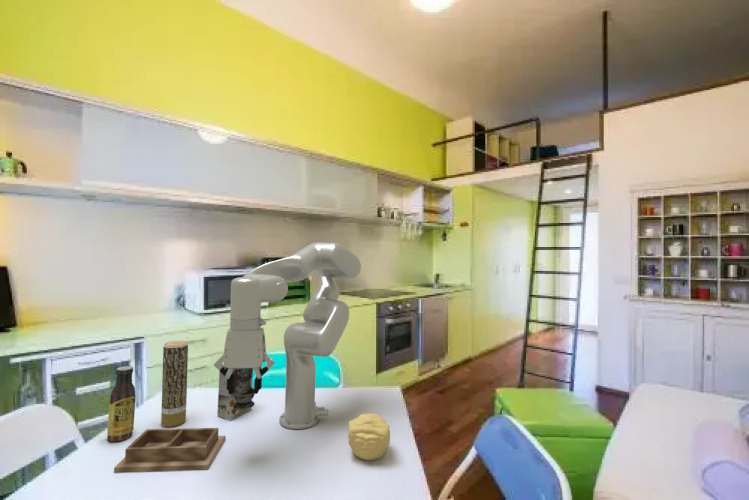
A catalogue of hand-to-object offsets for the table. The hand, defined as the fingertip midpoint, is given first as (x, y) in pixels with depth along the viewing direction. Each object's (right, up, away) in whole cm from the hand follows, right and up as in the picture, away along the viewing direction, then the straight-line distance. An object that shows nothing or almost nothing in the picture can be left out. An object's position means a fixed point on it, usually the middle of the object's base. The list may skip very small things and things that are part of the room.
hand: (244, 391), depth 94 cm
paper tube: (-29, -17, +18) cm, 38 cm away
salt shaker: (0, -4, 0) cm, 4 cm away
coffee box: (-12, -18, +25) cm, 33 cm away
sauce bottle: (-39, -17, +9) cm, 43 cm away
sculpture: (+33, -19, +4) cm, 38 cm away
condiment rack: (-19, -17, +1) cm, 26 cm away
